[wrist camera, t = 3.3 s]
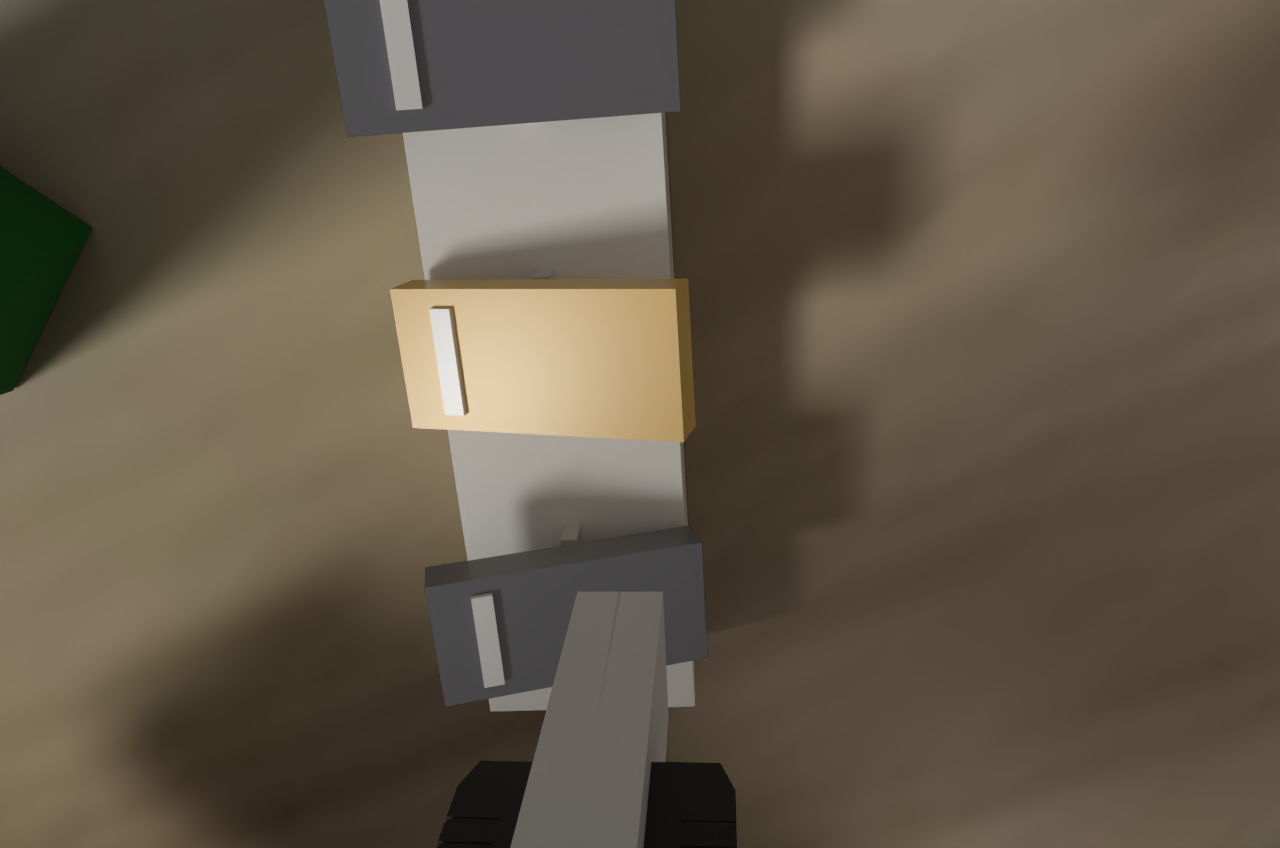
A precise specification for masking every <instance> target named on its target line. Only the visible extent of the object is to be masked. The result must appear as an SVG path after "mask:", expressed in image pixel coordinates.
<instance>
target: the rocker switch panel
mask: <svg viewBox="0 0 1280 848" xmlns="http://www.w3.org/2000/svg"><path fill="white" fill-rule="evenodd" d="M403 139H404V145H405V152H406V159H407V165H408V172H409V178H410V185H411V192H412V198H413V205H414V211H415V218H416V225H417V231H418V238H419V244H420V251H421V258H422V264H423V271H424V277H425V280H486V279H674V262H673V244H672V226H671V208H670V190H669V172H668V154H667V136H666V118H665V112H664V113H651V114H639V115H626V116H613V117H600V118H587V119H574V120H561V121H548V122H536V123H523V124H510V125H497V126H484V127H471V128H458V129H445V130H433V131H420V132H407V133H403ZM448 436H449V442H450V449H451V455H452V462H453V468H454V475H455V482H456V488H457V495H458V501H459V508H460V515H461V521H462V528H463V534H464V541H465V548H466V554H467V561H469V560H476V559H482V558H488V557H494V556H501V555H507V554H513V553H519V552H526V551H532V550H538V549H544V548H551V547H557V546H563V545H569V544H576V543H582V542H588V541H594V540H601V539H607V538H613V537H619V536H626V535H632V534H638V533H644V532H651V531H657V530H663V529H669V528H676V527H682V526H688V515H687V497H686V479H685V461H684V443H683V442H666V441H647V440H629V439H610V438H592V437H573V436H555V435H536V434H518V433H499V432H481V431H462V430H448ZM666 671H667V693H668V707H695V660H693V661H688V662H683V663H677V664H672V665H667V666H666ZM551 690H552V687H549V688H544V689H538V690H533V691H528V692H522V693H517V694H512V695H506V696H501V697H495V698H490V699H489V706H490V711H531V710H547V706H548V702H549V698H550V694H551Z"/></svg>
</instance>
